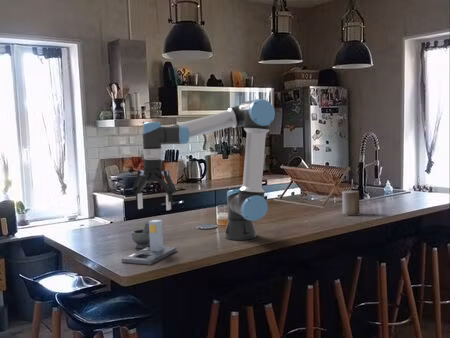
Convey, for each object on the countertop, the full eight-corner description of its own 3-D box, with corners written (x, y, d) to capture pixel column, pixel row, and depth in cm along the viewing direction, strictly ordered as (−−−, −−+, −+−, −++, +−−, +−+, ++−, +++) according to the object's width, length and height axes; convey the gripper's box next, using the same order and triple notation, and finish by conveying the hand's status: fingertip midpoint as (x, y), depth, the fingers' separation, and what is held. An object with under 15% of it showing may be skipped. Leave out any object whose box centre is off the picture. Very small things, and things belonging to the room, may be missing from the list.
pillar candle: (363, 214, 281) (362, 188, 280) (351, 216, 276) (351, 190, 275) (350, 212, 289) (349, 187, 288) (338, 214, 284) (338, 189, 283)
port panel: (150, 249, 213) (149, 245, 213) (176, 251, 209) (176, 247, 208) (121, 262, 193) (121, 258, 193) (150, 264, 188) (150, 260, 188)
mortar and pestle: (128, 246, 220) (127, 220, 219) (146, 242, 226) (145, 217, 225) (141, 250, 212) (140, 223, 211) (159, 246, 218) (158, 220, 217)
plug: (163, 252, 207) (161, 220, 206) (157, 255, 203) (156, 222, 201) (155, 251, 208) (153, 219, 207) (149, 254, 204) (147, 221, 203)
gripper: (122, 159, 204) (124, 209, 205) (175, 159, 195) (176, 211, 196) (132, 158, 211) (133, 206, 212) (183, 158, 202) (184, 208, 203)
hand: (154, 209), depth 204 cm, fingers open, 13 cm apart
